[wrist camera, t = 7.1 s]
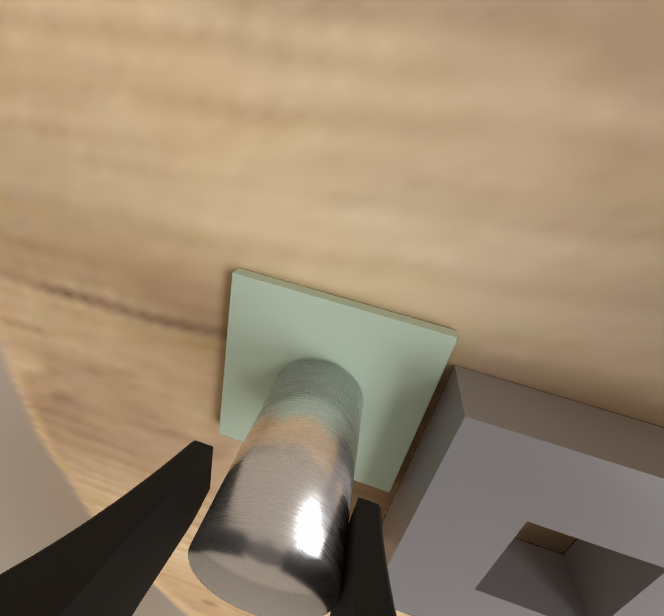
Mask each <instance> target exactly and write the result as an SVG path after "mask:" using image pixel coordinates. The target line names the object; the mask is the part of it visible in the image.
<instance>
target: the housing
mask: <svg viewBox="0 0 664 616" xmlns="http://www.w3.org/2000/svg"><path fill="white" fill-rule="evenodd" d="M526 522H530V523H533V524H536V525H539V526H542V527H545V528H548V529H551V530H554V531H557V532H560V533H563V534H566V535H569V536H572V537H575V538H578V539H577V540H576V541H575V542H574V543H573V544H572V546H571V547H570V548H569V549H568V550H567V551H566V552H565V553H564V554H563V555H562V554H559V553H556V552H553V551H550V550H548V549H545V548H542V547H539V546H536V545H533V544H530V543H527V542H524V541H522V540H519V539H516V538H514V537H515V536H516V535H517V534H518V532H519V531H520V530H521V528H522V527H523V526H524V524H525V523H526ZM382 531H383V540H384V548H385V555H386V562H387V568H388V574H389V580H390V585H391V590H392V596H393V601H394V606H395V610H397V611H400V612H403V613H405V614H408V615H411V616H664V428H663V427H660V426H656V425H653V424H650V423H646V422H643V421H639V420H636V419H633V418H629V417H626V416H623V415H619V414H616V413H613V412H609V411H606V410H603V409H599V408H596V407H593V406H589V405H586V404H582V403H579V402H576V401H572V400H569V399H566V398H562V397H559V396H556V395H552V394H549V393H546V392H542V391H539V390H536V389H532V388H529V387H525V386H522V385H519V384H515V383H512V382H509V381H505V380H502V379H499V378H495V377H492V376H489V375H485V374H482V373H479V372H475V371H472V370H468V369H465V368H462V367H458V366H454V368H453V370H452V373H451V375H450V377H449V379H448V381H447V383H446V386H445V388H444V390H443V392H442V394H441V397H440V399H439V401H438V403H437V405H436V407H435V410H434V412H433V414H432V416H431V418H430V421H429V423H428V425H427V427H426V429H425V431H424V434H423V436H422V438H421V440H420V442H419V444H418V447H417V449H416V451H415V453H414V455H413V458H412V460H411V462H410V464H409V466H408V468H407V471H406V473H405V475H404V477H403V479H402V482H401V484H400V486H399V488H398V490H397V492H396V495H395V497H394V499H393V501H392V503H391V505H390V508H389V510H388V512H387V514H386V516H385V519H384V521H383V523H382Z"/></svg>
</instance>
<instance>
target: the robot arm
mask: <svg viewBox="0 0 664 616" xmlns="http://www.w3.org/2000/svg"><path fill="white" fill-rule="evenodd" d="M212 454H213V446H210V445H207V444H204V443H201V442H198V441H193V442H191V443H190V444H189V445H188V446H187V447H185V448H184V449H183V450H182V451H181V452H179V453H178V454H177V455H176V456H175V457H173V458H172V459H171V460H170V461H168V462H167V463H166V464H165V465H163V466H162V467H161V468H160V469H158V470H157V471H156V472H154V473H153V474H152V475H151V476H149V477H148V478H147V479H145V480H144V481H143V482H141V483H140V484H139V485H137V486H136V487H135V488H133V489H132V490H131V491H129V492H128V493H127V494H125V495H124V496H123V497H121V498H120V499H118V500H117V501H116V502H114V503H113V504H111V505H110V506H108V507H107V508H106V509H104V510H103V511H101V512H100V513H98V514H97V515H95V516H94V517H93V518H91V519H90V520H88V521H87V522H85V523H84V524H82V525H81V526H79V527H78V528H76V529H75V530H73V531H72V532H70V533H68V534H67V535H65V536H64V537H62V538H61V539H59V540H58V541H56V542H54V543H53V544H51V545H49V546H48V547H46V548H44V549H43V550H41V551H40V552H38V553H36V554H35V555H33V556H31V557H29V558H28V559H26V560H24V561H22V562H21V563H19V564H17V565H16V566H14V567H12V568H10V569H9V570H7V571H5V572H3V573H2V574H0V616H132V615H133V613H134V612H135V610H136V608H137V607H138V605H139V603H140V602H141V600H142V599H143V597H144V596H145V594H146V593H147V591H148V590H149V588H150V587H151V585H152V584H153V582H154V580H155V579H156V577H157V576H158V574H159V573H160V571H161V570H162V568H163V567H164V565H165V564H166V562H167V561H168V559H169V558H170V556H171V555H172V553H173V551H174V550H175V548H176V547H177V545H178V544H179V542H180V541H181V539H182V538H183V536H184V534H185V533H186V531H187V530H188V528H189V527H190V525H191V524H192V522H193V520H194V518H195V516H196V514H197V513H198V511H199V509H200V507H201V505H202V503H203V501H204V499H205V497H206V495H207V493H208V491H209V489H210V481H211V467H212ZM330 616H396V611H395V606H394V601H393V596H392V590H391V585H390V580H389V574H388V568H387V562H386V555H385V548H384V540H383V531H382V520H381V508H380V506H379V505H378V504H376V503H373V502H370V501H367V500H364V499H361V498H358V500H357V503H356V506H355V508H354V511H353V513H352V516H351V519H350V521H349V524H348V530H347V538H346V546H345V554H344V562H343V570H342V578H341V586H340V594H339V599H338V602H337V604H336V606H335V607H334V608H333V609H332V610H331V613H330Z"/></svg>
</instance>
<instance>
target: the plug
mask: <svg viewBox="0 0 664 616" xmlns="http://www.w3.org/2000/svg"><path fill="white" fill-rule="evenodd" d="M362 410H363V394H362V391H361V388H360V386H359V384H358V383H357V381H356V380H355V379H354V377H353V376H352V375H351V374H350V373H349V372H347V371H346V370H345V369H343V368H341V367H340V366H338V365H336V364H334V363H331V362H328V361H324V360H318V359H306V360H300V361H297V362H294V363H292V364H290V365H288V366H287V367H286V368H284V369H283V370H282V371H281V372H280V374H279V375H278V377H277V379H276V381H275V383H274V384H273V386H272V388H271V390H270V392H269V394H268V396H267V398H266V400H265V402H264V404H263V406H262V408H261V410H260V411H259V413H258V415H257V417H256V419H255V421H254V423H253V425H252V427H251V429H250V431H249V433H248V435H247V437H246V438H245V440H244V442H243V444H242V446H241V448H240V450H239V452H238V454H237V456H236V458H235V460H234V462H233V464H232V465H231V467H230V469H229V471H228V473H227V475H226V477H225V479H224V481H223V483H222V485H221V487H220V489H219V491H218V492H217V494H216V496H215V498H214V500H213V502H212V504H211V506H210V508H209V510H208V512H207V514H206V516H205V518H204V519H203V521H202V523H201V525H200V527H199V529H198V531H197V533H196V535H195V537H194V539H193V541H192V543H191V545H190V547H189V551H188V559H189V563H190V566H191V568H192V570H193V572H194V574H195V575H196V577H197V578H198V579H199V580H200V582H201V583H202V584H203V585H204V586H205V587H206V588H207V589H209V590H210V591H211V592H212V593H213V594H215V595H216V596H218V597H219V598H221V599H222V600H224V601H226V602H227V603H229V604H231V605H233V606H235V607H237V608H239V609H241V610H244V611H246V612H249V613H252V614H255V615H258V616H323V615H326V614H327V613H328V612H330V611H331V610H332V609H333V608H334V607H335V606H336V604H337V602H338V599H339V594H340V586H341V578H342V570H343V562H344V554H345V546H346V538H347V530H348V522H349V514H350V506H351V498H352V490H353V482H354V474H355V466H356V458H357V450H358V442H359V434H360V426H361V418H362Z"/></svg>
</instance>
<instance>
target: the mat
mask: <svg viewBox="0 0 664 616" xmlns="http://www.w3.org/2000/svg"><path fill="white" fill-rule="evenodd" d="M457 339H458V336H457V332H456V330H453V329H450V328H446V327H443V326H439V325H436V324H432V323H429V322H425V321H422V320H418V319H415V318H411V317H408V316H404V315H401V314H397V313H394V312H390V311H387V310H384V309H380V308H377V307H373V306H370V305H366V304H363V303H359V302H356V301H352V300H349V299H345V298H342V297H338V296H335V295H331V294H328V293H324V292H321V291H317V290H314V289H310V288H307V287H303V286H300V285H296V284H293V283H289V282H286V281H283V280H279V279H276V278H272V277H269V276H265V275H262V274H258V273H255V272H251V271H248V270H244V269H241V268H239V269H237V270H236V271H234V272H232V283H231V295H230V307H229V319H228V331H227V343H226V355H225V367H224V379H223V391H222V403H221V414H220V426H219V434H221V435H224V436H227V437H229V438H232V439H235V440H238V441H241V442H244V440H245V438H246V437H247V435H248V433H249V431H250V429H251V427H252V425H253V423H254V421H255V419H256V417H257V415H258V413H259V411H260V410H261V408H262V406H263V404H264V402H265V400H266V398H267V396H268V394H269V392H270V390H271V388H272V386H273V384H274V383H275V381H276V379H277V377H278V375H279V374H280V372H281V371H282V370H283V369H284V368H286V367H287V366H288V365H290V364H292V363H294V362H297V361H300V360H306V359H318V360H324V361H328V362H331V363H334V364H336V365H338V366H340V367H341V368H343V369H345V370H346V371H347V372H349V373H350V374H351V375H352V376H353V377H354V379H355V380H356V381H357V383H358V384H359V386H360V388H361V391H362V394H363V410H362V418H361V426H360V434H359V442H358V450H357V458H356V466H355V474H354V481H357V482H360V483H363V484H366V485H369V486H372V487H375V488H377V489H380V490H383V491H386V492H390V490H391V488H392V485H393V483H394V481H395V479H396V476H397V474H398V472H399V470H400V467H401V465H402V463H403V461H404V458H405V456H406V454H407V452H408V449H409V447H410V445H411V443H412V440H413V438H414V436H415V434H416V431H417V429H418V427H419V425H420V422H421V420H422V418H423V416H424V413H425V411H426V409H427V407H428V404H429V402H430V400H431V398H432V395H433V393H434V391H435V389H436V386H437V384H438V382H439V380H440V377H441V375H442V373H443V371H444V368H445V366H446V364H447V362H448V359H449V357H450V355H451V353H452V350H453V348H454V346H455V344H456V341H457Z"/></svg>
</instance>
